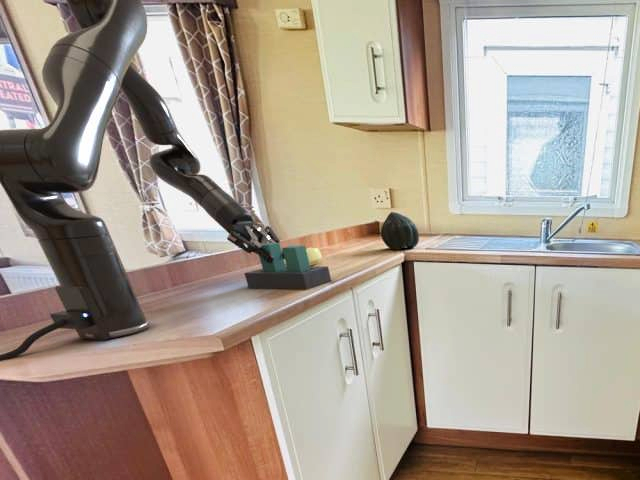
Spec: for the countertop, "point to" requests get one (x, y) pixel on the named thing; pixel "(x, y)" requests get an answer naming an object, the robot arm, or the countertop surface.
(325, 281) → the mount
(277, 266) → the green block
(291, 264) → the block
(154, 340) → the countertop surface
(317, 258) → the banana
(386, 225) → the squash
